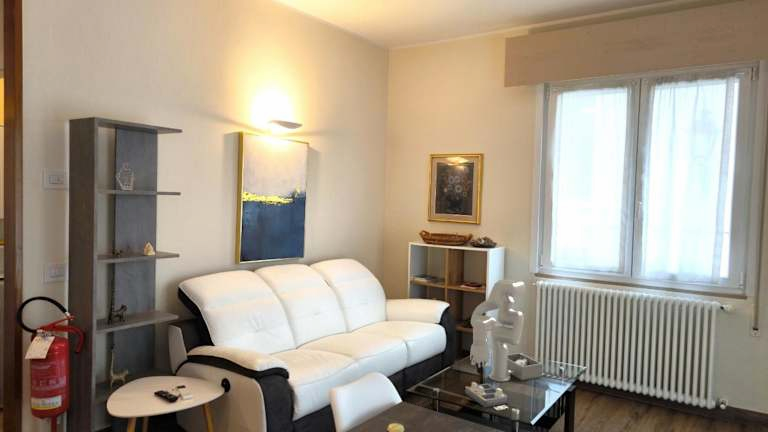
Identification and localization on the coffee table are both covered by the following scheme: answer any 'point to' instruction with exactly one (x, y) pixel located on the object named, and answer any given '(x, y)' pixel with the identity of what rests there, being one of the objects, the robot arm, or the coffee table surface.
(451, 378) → the coffee table surface
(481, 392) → the tab
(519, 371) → the grey open bin
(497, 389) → the tab
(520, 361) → the camera
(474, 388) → the tab
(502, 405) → the label card
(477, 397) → the grey shallow tray
